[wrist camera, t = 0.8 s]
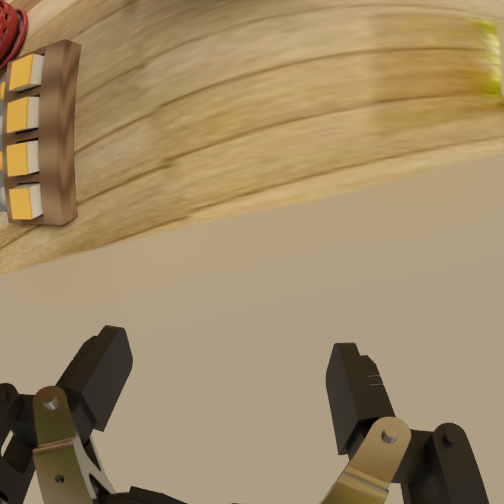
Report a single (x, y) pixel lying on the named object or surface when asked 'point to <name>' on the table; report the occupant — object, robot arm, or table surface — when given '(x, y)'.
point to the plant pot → (11, 31)
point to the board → (48, 134)
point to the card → (0, 191)
